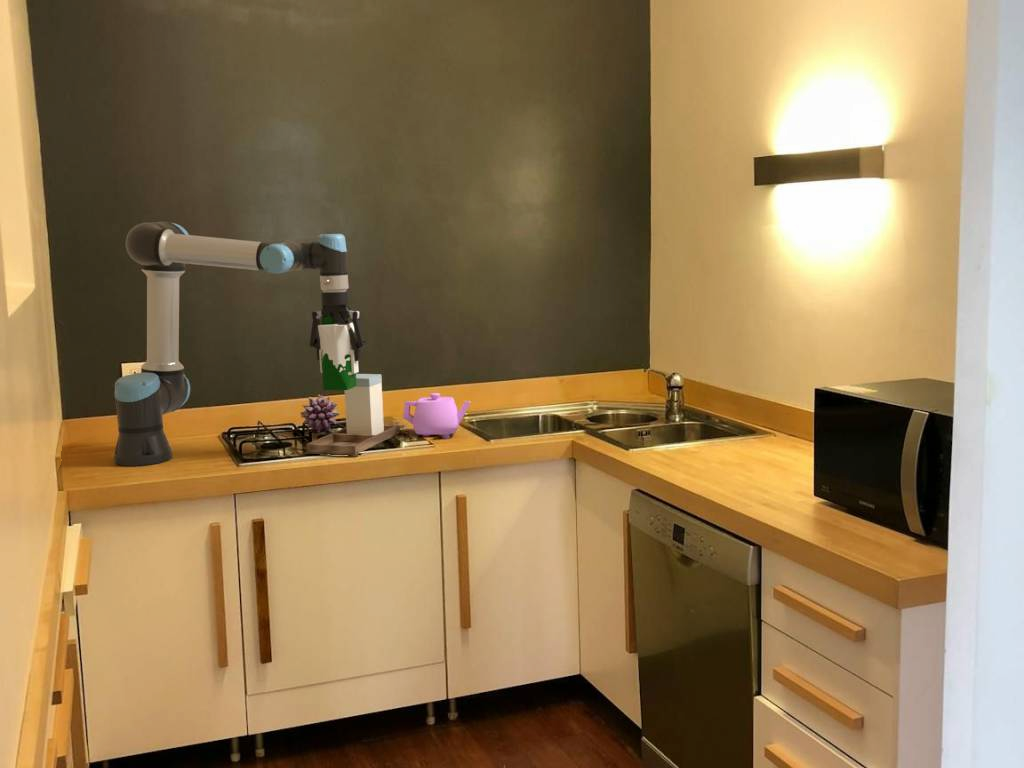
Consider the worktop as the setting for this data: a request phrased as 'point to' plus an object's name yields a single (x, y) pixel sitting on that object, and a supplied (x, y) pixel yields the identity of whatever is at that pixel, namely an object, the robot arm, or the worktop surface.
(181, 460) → the worktop surface
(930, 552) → the worktop surface
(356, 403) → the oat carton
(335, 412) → the purple spiky ball
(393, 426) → the tray
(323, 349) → the soya milk
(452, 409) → the teapot
